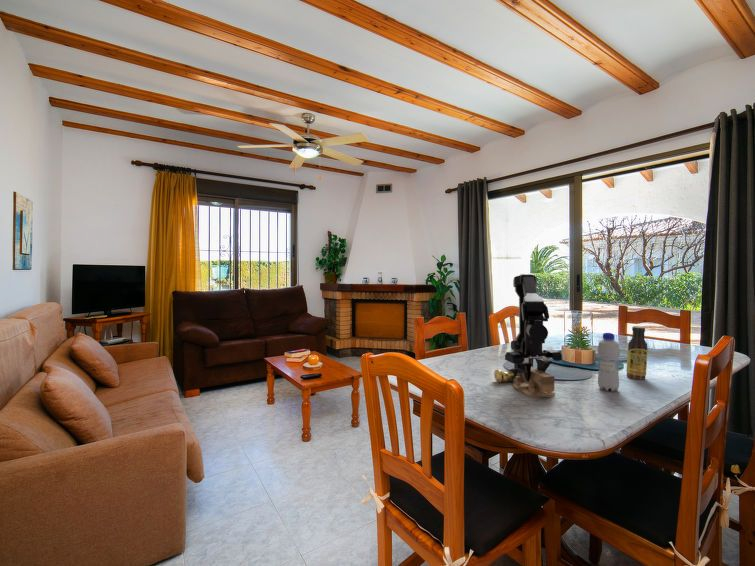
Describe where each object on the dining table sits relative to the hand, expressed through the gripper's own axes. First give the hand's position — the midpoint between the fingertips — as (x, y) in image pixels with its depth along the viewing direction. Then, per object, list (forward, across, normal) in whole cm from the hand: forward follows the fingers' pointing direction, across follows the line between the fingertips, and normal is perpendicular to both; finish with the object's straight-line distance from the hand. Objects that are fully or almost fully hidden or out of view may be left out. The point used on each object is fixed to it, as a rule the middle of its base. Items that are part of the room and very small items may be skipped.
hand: (533, 380), depth 128 cm
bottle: (+4, -26, +4) cm, 27 cm away
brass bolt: (+4, +4, -12) cm, 13 cm away
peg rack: (+4, 0, 0) cm, 4 cm away
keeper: (+4, -2, -12) cm, 13 cm away
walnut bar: (+1, 0, +3) cm, 3 cm away
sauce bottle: (+4, -48, -5) cm, 48 cm away
